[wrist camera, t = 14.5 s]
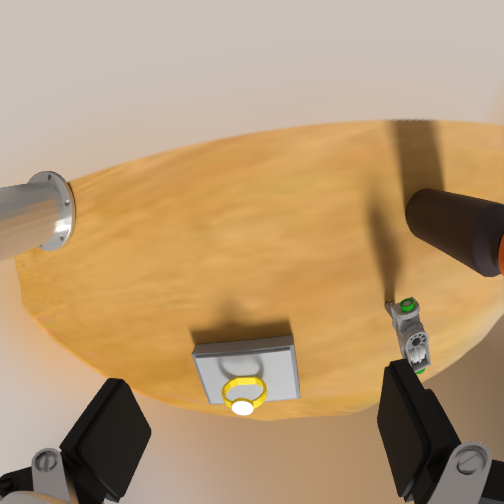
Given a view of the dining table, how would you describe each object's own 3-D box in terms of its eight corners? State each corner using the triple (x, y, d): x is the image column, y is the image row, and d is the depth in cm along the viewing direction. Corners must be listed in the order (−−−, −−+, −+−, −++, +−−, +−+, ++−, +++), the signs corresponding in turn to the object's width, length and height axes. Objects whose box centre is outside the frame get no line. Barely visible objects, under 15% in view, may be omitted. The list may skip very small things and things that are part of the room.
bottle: (451, 197, 32) (560, 227, 13) (438, 244, 34) (536, 304, 15) (412, 181, 32) (521, 200, 13) (398, 232, 34) (494, 292, 15)
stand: (212, 393, 44) (209, 405, 41) (196, 344, 41) (191, 355, 38) (299, 387, 42) (300, 399, 39) (292, 334, 39) (293, 346, 36)
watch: (265, 370, 38) (266, 398, 32) (267, 384, 39) (269, 413, 33) (222, 374, 38) (218, 402, 33) (226, 388, 39) (222, 416, 33)
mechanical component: (390, 269, 36) (422, 300, 26) (405, 329, 38) (432, 368, 28) (371, 278, 36) (397, 312, 27) (387, 337, 38) (411, 379, 29)
